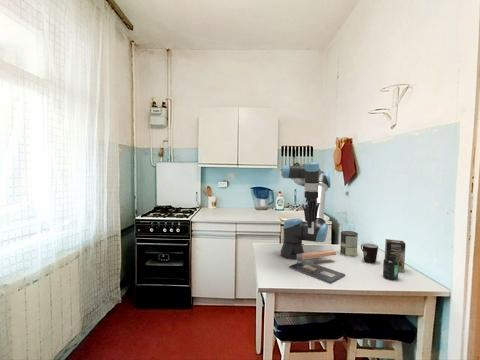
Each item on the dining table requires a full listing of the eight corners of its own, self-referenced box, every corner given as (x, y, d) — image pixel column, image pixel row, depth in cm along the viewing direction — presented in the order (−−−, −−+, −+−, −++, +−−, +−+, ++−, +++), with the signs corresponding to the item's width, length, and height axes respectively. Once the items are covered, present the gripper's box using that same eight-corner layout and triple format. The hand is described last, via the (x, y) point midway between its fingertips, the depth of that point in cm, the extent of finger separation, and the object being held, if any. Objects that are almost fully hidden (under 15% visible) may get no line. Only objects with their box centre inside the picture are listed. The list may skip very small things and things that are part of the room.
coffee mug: (379, 264, 156) (380, 248, 155) (363, 263, 157) (364, 247, 157) (373, 258, 167) (374, 242, 166) (359, 257, 169) (359, 241, 168)
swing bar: (299, 260, 151) (299, 256, 151) (294, 258, 155) (295, 253, 155) (336, 255, 160) (336, 251, 160) (331, 253, 164) (331, 248, 164)
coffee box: (385, 270, 147) (386, 241, 146) (383, 266, 153) (385, 238, 152) (404, 273, 144) (405, 243, 143) (402, 268, 150) (403, 240, 149)
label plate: (289, 267, 151) (289, 261, 151) (304, 262, 160) (304, 255, 160) (330, 283, 131) (330, 276, 131) (345, 276, 140) (345, 269, 140)
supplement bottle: (399, 281, 134) (400, 257, 133) (384, 279, 136) (385, 256, 135) (395, 275, 140) (396, 253, 140) (381, 274, 142) (382, 252, 142)
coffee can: (337, 254, 174) (337, 232, 173) (344, 250, 181) (344, 229, 181) (353, 258, 167) (353, 235, 166) (359, 254, 174) (360, 232, 173)
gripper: (310, 192, 139) (309, 237, 140) (324, 190, 147) (323, 232, 149) (298, 191, 144) (297, 234, 146) (312, 189, 153) (311, 230, 154)
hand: (310, 233), depth 147 cm, fingers closed
